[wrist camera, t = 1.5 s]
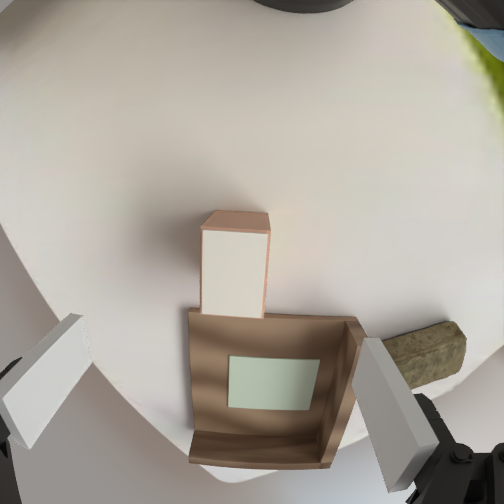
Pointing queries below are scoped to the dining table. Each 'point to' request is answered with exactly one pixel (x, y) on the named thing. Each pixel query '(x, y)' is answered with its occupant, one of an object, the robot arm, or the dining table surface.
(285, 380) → the sage pad
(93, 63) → the dining table surface
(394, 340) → the stone block
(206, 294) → the terracotta block
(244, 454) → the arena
